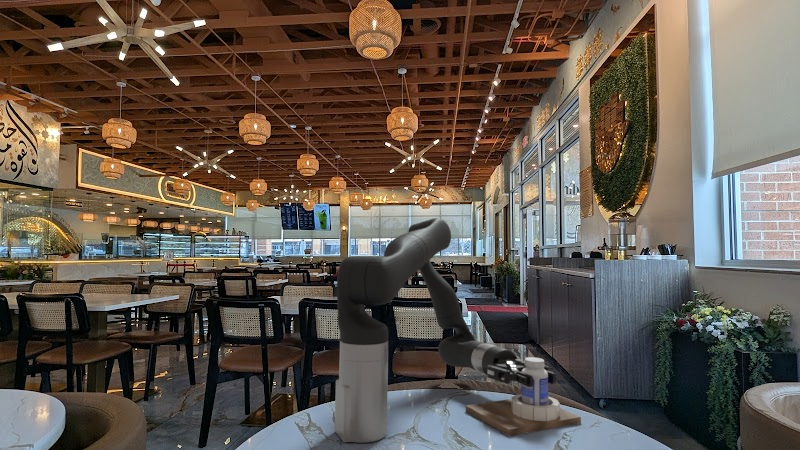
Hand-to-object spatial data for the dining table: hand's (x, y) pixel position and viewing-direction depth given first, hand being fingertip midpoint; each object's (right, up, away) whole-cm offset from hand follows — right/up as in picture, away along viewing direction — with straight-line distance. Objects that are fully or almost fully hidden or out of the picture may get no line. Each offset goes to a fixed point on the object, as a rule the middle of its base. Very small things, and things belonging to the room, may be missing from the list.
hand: (543, 380), depth 92 cm
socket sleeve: (-1, -7, +2) cm, 8 cm away
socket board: (-4, -9, +3) cm, 10 cm away
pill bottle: (-1, -6, +2) cm, 7 cm away
